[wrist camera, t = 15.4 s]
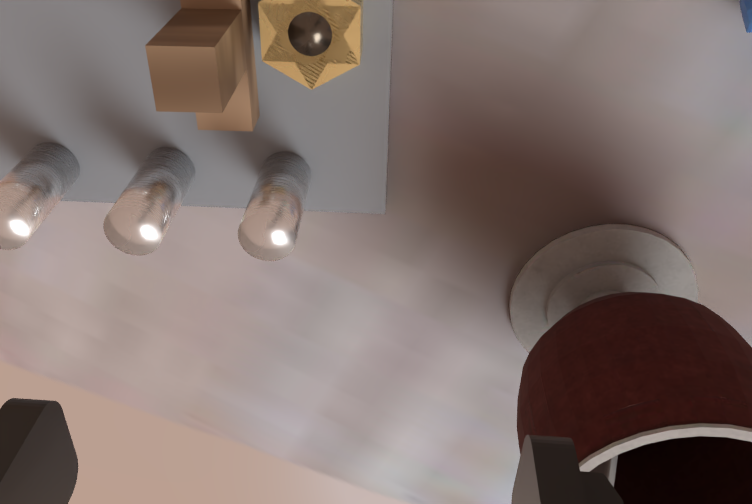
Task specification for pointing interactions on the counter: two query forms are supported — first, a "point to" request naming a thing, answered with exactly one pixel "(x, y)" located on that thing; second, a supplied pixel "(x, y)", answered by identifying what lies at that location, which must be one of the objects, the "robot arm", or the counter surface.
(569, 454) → the robot arm
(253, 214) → the spacers
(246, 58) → the wooden stepped block
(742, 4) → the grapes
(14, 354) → the counter surface
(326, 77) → the nut
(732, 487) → the mate gourd
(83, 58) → the board
